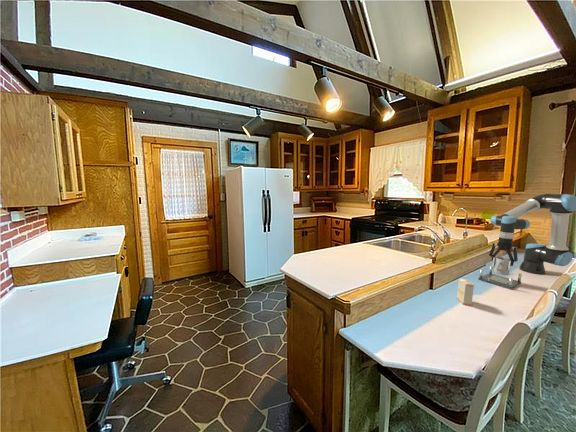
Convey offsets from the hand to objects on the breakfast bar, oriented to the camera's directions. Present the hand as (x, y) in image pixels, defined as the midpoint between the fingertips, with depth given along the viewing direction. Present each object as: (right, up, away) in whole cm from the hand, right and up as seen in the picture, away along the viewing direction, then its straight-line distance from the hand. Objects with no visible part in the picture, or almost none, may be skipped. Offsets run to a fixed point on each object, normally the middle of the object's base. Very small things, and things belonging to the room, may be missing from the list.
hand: (501, 267), depth 178 cm
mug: (0, -4, +1) cm, 5 cm away
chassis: (0, -11, +2) cm, 11 cm away
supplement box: (-48, -15, -29) cm, 58 cm away
